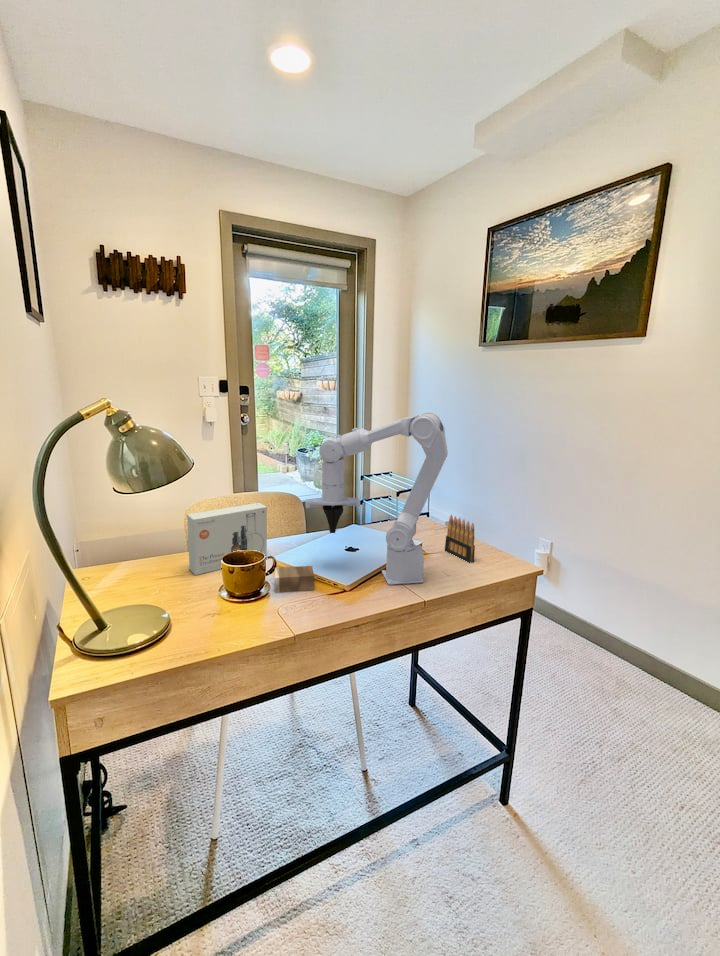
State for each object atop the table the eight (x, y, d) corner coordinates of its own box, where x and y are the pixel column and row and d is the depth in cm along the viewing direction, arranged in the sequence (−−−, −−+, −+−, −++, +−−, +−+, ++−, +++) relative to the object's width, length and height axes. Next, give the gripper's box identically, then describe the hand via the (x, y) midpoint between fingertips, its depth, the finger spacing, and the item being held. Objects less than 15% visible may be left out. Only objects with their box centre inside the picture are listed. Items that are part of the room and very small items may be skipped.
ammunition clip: (444, 550, 138) (447, 513, 135) (448, 549, 139) (451, 513, 136) (469, 563, 129) (473, 524, 126) (474, 562, 130) (477, 523, 127)
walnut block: (312, 565, 115) (275, 567, 113) (314, 575, 109) (275, 577, 107) (312, 579, 116) (275, 582, 114) (314, 590, 110) (275, 593, 108)
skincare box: (195, 577, 116) (192, 519, 112) (188, 570, 120) (185, 513, 116) (268, 558, 129) (267, 505, 125) (259, 552, 133) (258, 501, 129)
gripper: (357, 479, 124) (355, 526, 127) (304, 480, 121) (304, 527, 124) (361, 485, 117) (360, 534, 120) (306, 486, 114) (306, 536, 117)
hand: (332, 531), depth 121 cm, fingers closed
